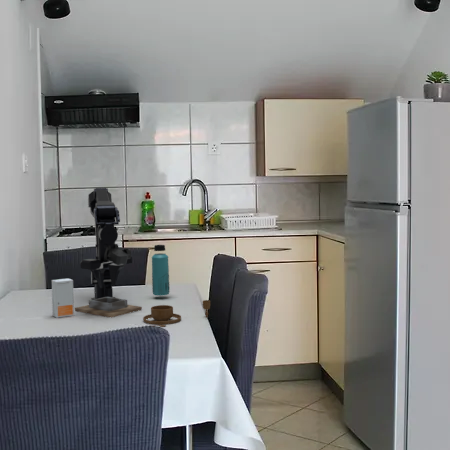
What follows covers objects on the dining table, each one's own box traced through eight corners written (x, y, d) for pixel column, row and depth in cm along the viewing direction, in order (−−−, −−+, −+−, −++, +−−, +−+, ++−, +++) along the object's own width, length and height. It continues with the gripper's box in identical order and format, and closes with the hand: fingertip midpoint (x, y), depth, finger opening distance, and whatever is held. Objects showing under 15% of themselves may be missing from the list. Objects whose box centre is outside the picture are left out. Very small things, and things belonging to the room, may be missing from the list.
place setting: (154, 315, 203) (153, 297, 202) (212, 317, 198) (212, 299, 198) (134, 328, 186) (134, 309, 185) (198, 331, 181) (197, 311, 181)
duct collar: (74, 310, 208) (74, 300, 208) (106, 303, 219) (105, 294, 219) (111, 317, 197) (110, 306, 197) (141, 309, 209) (141, 299, 208)
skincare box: (56, 318, 197) (55, 281, 197) (52, 315, 201) (51, 279, 200) (74, 315, 201) (73, 279, 200) (70, 313, 204) (69, 278, 203)
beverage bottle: (166, 299, 225) (165, 245, 224) (149, 299, 226) (148, 245, 225) (172, 296, 232) (170, 243, 230) (155, 295, 233) (154, 243, 231)
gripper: (101, 245, 194) (102, 293, 196) (143, 240, 209) (144, 285, 210) (78, 243, 201) (80, 290, 202) (120, 238, 216) (121, 282, 217)
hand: (107, 286), depth 208 cm, fingers open, 5 cm apart
